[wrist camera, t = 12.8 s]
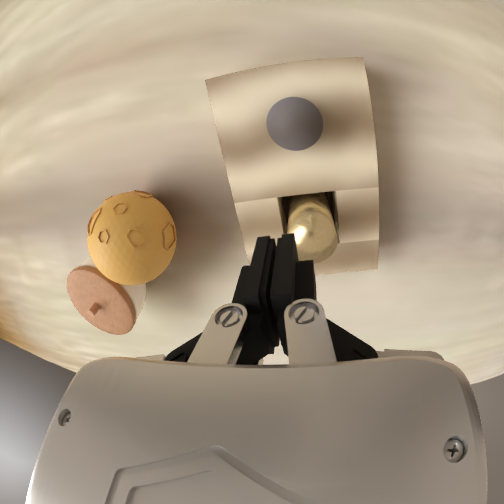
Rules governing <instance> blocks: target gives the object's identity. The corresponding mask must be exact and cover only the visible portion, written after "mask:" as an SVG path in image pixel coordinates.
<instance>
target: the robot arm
mask: <svg viewBox="0 0 504 504" xmlns="http://www.w3.org/2000/svg"><path fill="white" fill-rule="evenodd" d="M279 340H281V345H282V346H283V351H284V353H285V354H286V355H287V356H288V357H289V364H286V365H263V357H265V356H266V355H267V354H274V348H275V347H276V346H279ZM454 447H455V449H454ZM26 504H487V463H486V451H485V442H484V434H483V429H482V424H481V419H480V414H479V410H478V406H477V403H476V399H475V396H474V393H473V390H472V388H471V385H470V383H469V381H468V379H467V378H466V376H465V374H464V373H463V372H462V371H461V370H460V369H459V368H458V367H457V366H456V365H454V364H452V363H450V362H447V361H444V359H443V358H442V356H441V355H439V354H438V353H436V352H432V351H412V350H392V349H385V350H384V352H381V351H375V349H374V348H372V347H371V346H370V345H368V344H367V343H365V342H363V341H362V340H360V339H358V338H357V337H355V336H354V335H352V334H350V333H349V332H347V331H346V330H344V329H343V328H341V327H339V326H338V325H336V324H335V323H333V322H331V321H330V320H328V319H327V318H326V316H325V313H324V309H323V307H322V305H321V304H320V303H319V302H318V301H317V300H316V281H315V270H314V262H313V260H304V261H299V259H298V252H297V246H296V240H295V234H294V233H289V234H282V238H278V239H277V246H276V242H275V239H274V238H272V239H271V238H270V236H262V237H257V240H256V244H255V248H254V252H253V256H252V260H251V264H250V266H243V267H242V269H241V272H240V276H239V279H238V283H237V286H236V290H235V293H234V297H233V300H232V303H229V304H226V305H223V306H221V307H219V308H218V309H217V310H215V311H214V313H213V314H212V316H211V318H210V320H209V322H208V323H207V325H206V327H205V329H204V331H203V332H202V333H200V334H199V335H197V336H196V337H194V338H193V339H191V340H189V341H188V342H186V343H185V344H183V345H181V346H180V347H178V348H177V349H175V350H173V351H172V352H171V353H169V354H168V355H167V357H165V355H164V354H162V355H155V356H146V357H137V358H129V357H109V358H102V359H98V360H94V361H91V362H89V363H87V364H85V365H84V366H83V367H82V368H81V369H80V370H79V371H78V372H77V374H76V375H75V377H74V378H73V380H72V381H71V383H70V385H69V387H68V389H67V390H66V392H65V394H64V396H63V398H62V400H61V402H60V404H59V406H58V408H57V410H56V412H55V415H54V417H53V419H52V421H51V424H50V426H49V428H48V431H47V433H46V436H45V438H44V441H43V444H42V447H41V449H40V452H39V455H38V458H37V461H36V465H35V468H34V471H33V475H32V478H31V482H30V486H29V490H28V494H27V499H26Z"/></svg>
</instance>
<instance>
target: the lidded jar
mask: <svg viewBox="0 0 504 504" xmlns="http://www.w3.org/2000/svg"><path fill="white" fill-rule="evenodd" d="M67 290H68V294H69V297H70V299H71V301H72V303H73V304H74V306H75V307H76V309H77V310H78V311H79V313H80V314H81V315H82V316H83V317H84V318H85V319H86V320H87V321H88V322H90V323H91V324H92V325H94V326H95V327H97V328H98V329H100V330H102V331H105V332H107V333H110V334H116V335H122V334H126V333H128V332H129V331H130V330H131V329H132V328H133V326H134V324H135V322H136V319H137V318H138V316H139V314H140V312H141V310H142V308H143V305H144V301H145V298H146V284H145V283H144V284H140V285H124V284H119V283H116V282H114V281H112V280H110V279H108V278H107V277H106V276H104V275H103V274H102V273H101V272H100V271H99V270H98V268H97V267H96V266H95V264H94V262H93V261H92V259H91V257H89V258H87V259H86V260H85V261H83V262H82V263H81V264H80V265H79V266H78V267H77V268H75V269H74V270H73V271H72V272H71V273H70V274H69V276H68V278H67Z"/></svg>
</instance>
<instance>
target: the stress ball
mask: <svg viewBox="0 0 504 504" xmlns="http://www.w3.org/2000/svg"><path fill="white" fill-rule="evenodd" d="M87 232H88V249H89V253H90V256H91V259H92V261H93V262H94V264H95V266H96V267H97V268H98V270H99V271H100V272H101V273H102V274H103V275H104V276H106V277H107V278H108V279H110V280H112V281H114V282H116V283H119V284H124V285H140V284H144V283H147V282H149V281H152V280H153V279H155V278H156V277H158V276H159V275H160V274H161V273H162V272H163V271H164V270H165V269H166V268H167V267H168V265H169V264H170V262H171V260H172V258H173V255H174V252H175V248H176V241H177V235H176V228H175V224H174V221H173V219H172V217H171V215H170V213H169V211H168V210H167V209H166V207H165V206H164V205H163V204H162V203H161V202H159V201H158V200H157V199H155V198H153V195H151V194H149V193H146V192H143V191H136V190H134V191H132V192H126V193H121V194H118V195H116V196H111V197H109V198H108V199H106V200H105V201H104V202H103V204H102V205H101V206H100V207H99V208H98V209H97V210H96V211H95V212H94V213H93V215H92V217H91V219H90V221H89V224H88V227H87Z"/></svg>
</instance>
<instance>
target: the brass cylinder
mask: <svg viewBox="0 0 504 504" xmlns="http://www.w3.org/2000/svg"><path fill="white" fill-rule="evenodd" d="M289 233H294V234H295V240H296V246H297V252H298V259H299V261H304V260H313V262H314V263H319V262H322V261H325V260H326V259H328V258H329V257H330V256H331V255H332V254H333V253H334V251H335V250H336V247H337V243H338V238H337V234H336V230H335V226H334V222H333V218H332V214H331V210H330V207H329V203H328V199H327V197H326V195H325V193H324V192H319V193H310V194H301V195H292V196H291V199H290V206H289V219H288V231H287V234H289Z"/></svg>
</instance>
